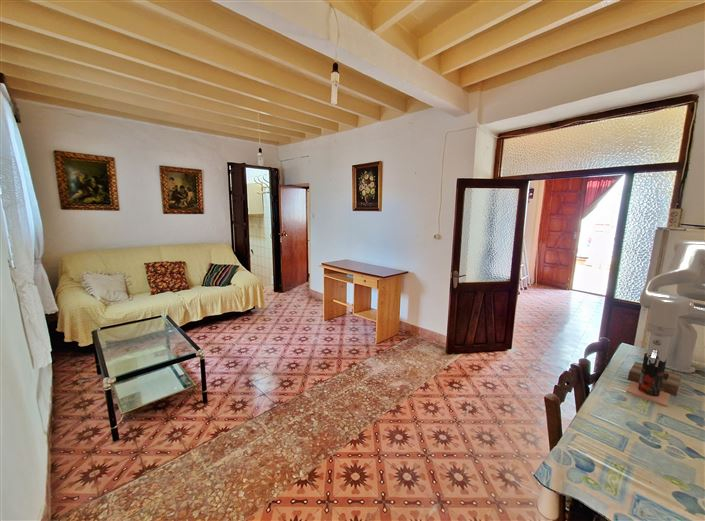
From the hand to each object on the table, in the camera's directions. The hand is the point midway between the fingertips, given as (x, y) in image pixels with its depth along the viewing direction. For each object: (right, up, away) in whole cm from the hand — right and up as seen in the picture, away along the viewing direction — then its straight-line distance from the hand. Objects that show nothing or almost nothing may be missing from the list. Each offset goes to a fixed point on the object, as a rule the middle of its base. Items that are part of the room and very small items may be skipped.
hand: (652, 370), depth 113 cm
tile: (0, -10, +1) cm, 10 cm away
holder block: (+11, -9, +10) cm, 17 cm away
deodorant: (0, -9, +2) cm, 9 cm away
